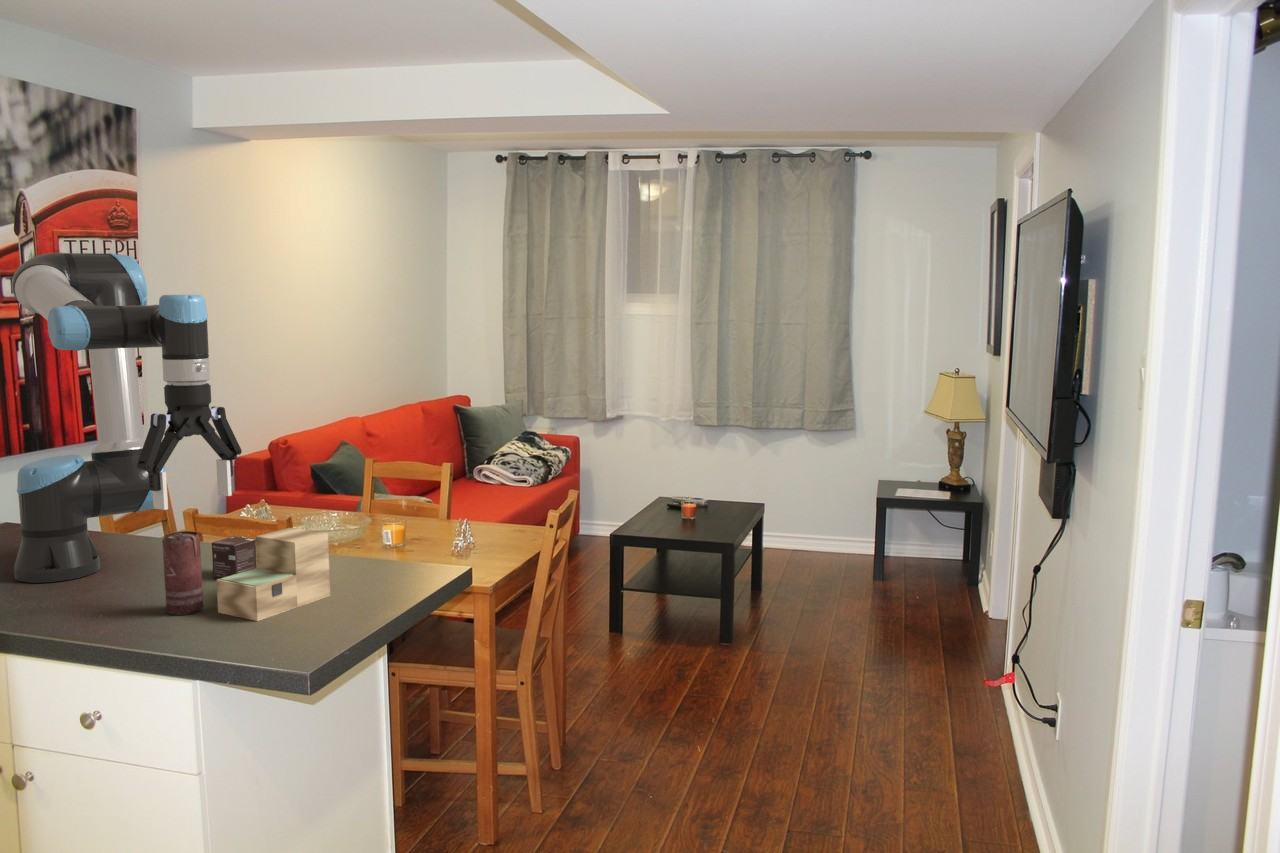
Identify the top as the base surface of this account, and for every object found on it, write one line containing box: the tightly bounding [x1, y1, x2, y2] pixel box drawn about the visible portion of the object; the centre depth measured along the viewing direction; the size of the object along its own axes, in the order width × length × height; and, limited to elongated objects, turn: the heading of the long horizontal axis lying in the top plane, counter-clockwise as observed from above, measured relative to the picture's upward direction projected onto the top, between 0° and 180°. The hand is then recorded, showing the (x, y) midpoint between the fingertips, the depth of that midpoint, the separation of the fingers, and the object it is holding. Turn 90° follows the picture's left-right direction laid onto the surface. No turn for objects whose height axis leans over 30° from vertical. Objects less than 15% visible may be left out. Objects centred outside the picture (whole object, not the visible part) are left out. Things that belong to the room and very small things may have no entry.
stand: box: [216, 527, 331, 622], centre depth 187 cm, size 10×17×12 cm, turn 151°
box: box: [211, 535, 257, 579], centre depth 206 cm, size 6×6×7 cm
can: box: [162, 530, 204, 616], centre depth 183 cm, size 6×6×14 cm
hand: (193, 502), depth 183 cm, fingers open, 13 cm apart
